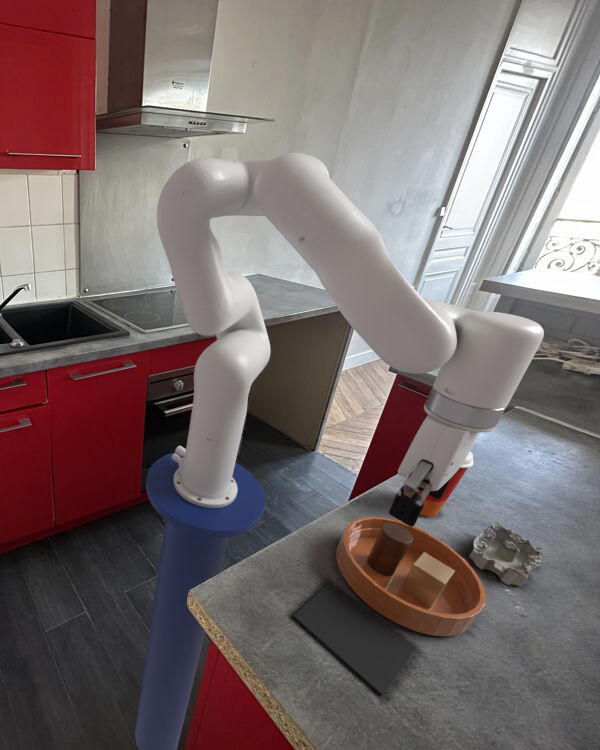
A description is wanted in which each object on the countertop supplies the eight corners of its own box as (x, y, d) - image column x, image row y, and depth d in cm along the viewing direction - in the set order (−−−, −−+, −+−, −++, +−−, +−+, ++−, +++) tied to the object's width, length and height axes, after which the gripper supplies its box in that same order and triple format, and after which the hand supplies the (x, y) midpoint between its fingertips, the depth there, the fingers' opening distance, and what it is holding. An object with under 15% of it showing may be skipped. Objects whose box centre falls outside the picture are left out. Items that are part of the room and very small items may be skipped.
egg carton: (516, 593, 64) (530, 575, 62) (460, 557, 70) (470, 540, 68) (540, 564, 69) (553, 547, 67) (486, 533, 75) (496, 516, 73)
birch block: (400, 588, 64) (413, 563, 61) (410, 575, 66) (424, 551, 63) (429, 608, 61) (445, 584, 58) (440, 595, 63) (455, 570, 60)
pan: (313, 566, 67) (321, 546, 65) (366, 520, 77) (374, 502, 75) (444, 665, 54) (459, 645, 52) (489, 595, 64) (502, 575, 62)
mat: (292, 617, 59) (293, 615, 59) (329, 583, 65) (329, 581, 64) (381, 696, 51) (382, 694, 50) (415, 649, 56) (416, 647, 56)
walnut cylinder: (362, 562, 68) (377, 529, 64) (374, 551, 70) (389, 518, 66) (388, 580, 65) (406, 547, 61) (399, 568, 67) (417, 535, 63)
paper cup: (405, 487, 85) (432, 431, 79) (450, 509, 80) (482, 451, 74) (390, 502, 81) (416, 444, 75) (435, 527, 76) (468, 467, 70)
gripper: (452, 380, 61) (410, 471, 69) (402, 413, 52) (360, 514, 59) (518, 401, 56) (465, 498, 63) (475, 442, 46) (419, 549, 54)
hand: (415, 506), depth 61 cm, fingers open, 9 cm apart
